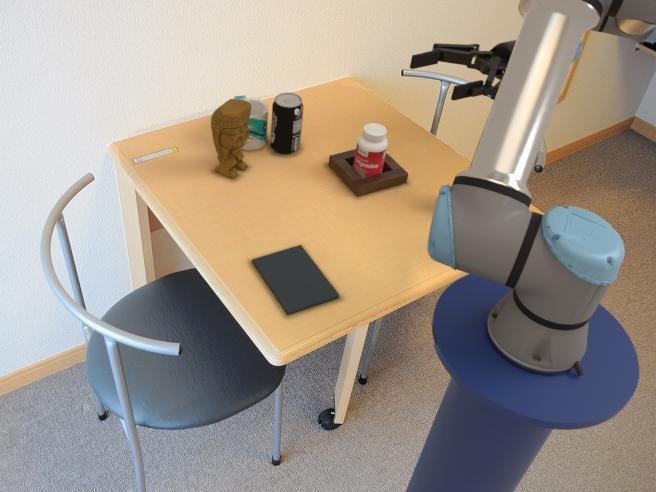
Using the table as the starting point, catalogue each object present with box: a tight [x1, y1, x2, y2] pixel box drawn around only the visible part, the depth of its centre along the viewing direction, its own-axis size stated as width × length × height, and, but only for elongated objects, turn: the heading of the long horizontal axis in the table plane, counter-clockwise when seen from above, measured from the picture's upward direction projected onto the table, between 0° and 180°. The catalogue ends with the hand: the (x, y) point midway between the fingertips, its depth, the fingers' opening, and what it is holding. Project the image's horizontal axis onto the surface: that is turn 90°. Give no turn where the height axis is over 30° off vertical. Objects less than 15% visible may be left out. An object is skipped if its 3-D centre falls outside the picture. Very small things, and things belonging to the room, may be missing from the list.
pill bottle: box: [352, 122, 389, 178], centre depth 135 cm, size 6×6×11 cm
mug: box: [233, 94, 269, 151], centre depth 145 cm, size 8×12×8 cm
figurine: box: [210, 98, 251, 180], centre depth 134 cm, size 7×7×15 cm
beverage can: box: [269, 91, 305, 156], centre depth 141 cm, size 7×7×12 cm
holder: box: [327, 148, 409, 197], centre depth 138 cm, size 12×12×2 cm
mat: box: [251, 244, 340, 316], centre depth 115 cm, size 14×10×1 cm
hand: (432, 77), depth 129 cm, fingers open, 13 cm apart
